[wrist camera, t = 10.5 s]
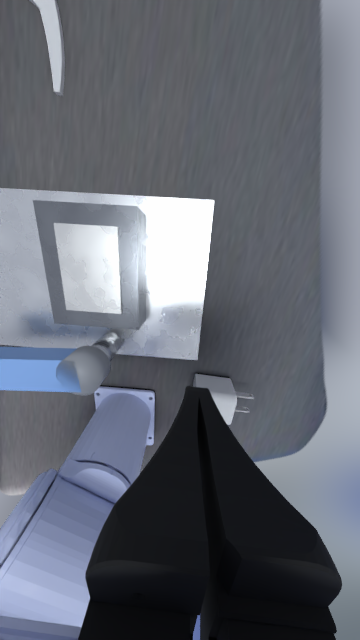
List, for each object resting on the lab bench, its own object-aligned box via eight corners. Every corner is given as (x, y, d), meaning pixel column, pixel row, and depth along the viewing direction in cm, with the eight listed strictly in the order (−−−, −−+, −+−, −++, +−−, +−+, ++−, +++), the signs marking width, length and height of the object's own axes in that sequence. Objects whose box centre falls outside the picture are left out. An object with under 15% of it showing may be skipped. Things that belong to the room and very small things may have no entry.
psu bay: (197, 355, 22) (199, 383, 17) (4, 340, 22) (-47, 363, 17) (212, 203, 16) (222, 180, 12) (-38, 189, 17) (-128, 161, 12)
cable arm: (108, 346, 16) (96, 357, 14) (112, 380, 17) (103, 396, 15) (-73, 342, 16) (-107, 353, 14) (-56, 375, 17) (-86, 389, 16)
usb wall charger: (195, 371, 22) (196, 393, 19) (250, 378, 22) (262, 402, 19) (190, 396, 24) (191, 422, 20) (242, 403, 24) (252, 431, 20)
